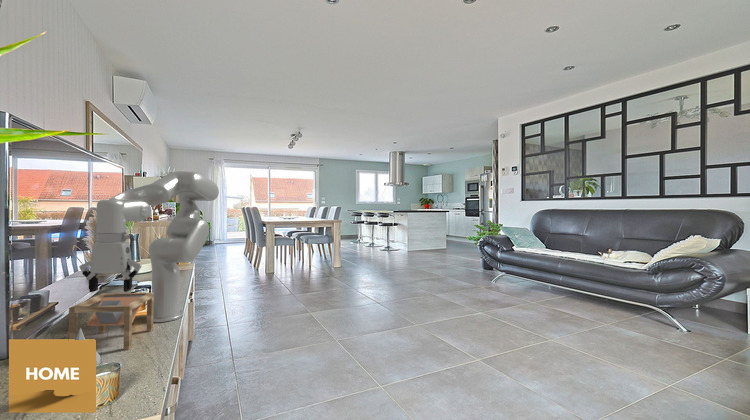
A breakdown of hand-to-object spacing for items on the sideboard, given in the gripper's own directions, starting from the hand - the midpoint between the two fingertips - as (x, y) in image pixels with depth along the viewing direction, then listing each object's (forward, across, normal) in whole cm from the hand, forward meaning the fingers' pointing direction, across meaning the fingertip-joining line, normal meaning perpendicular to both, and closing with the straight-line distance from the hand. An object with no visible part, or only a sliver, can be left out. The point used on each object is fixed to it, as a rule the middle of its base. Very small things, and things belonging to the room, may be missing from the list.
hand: (110, 291), depth 111 cm
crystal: (+17, -7, +26) cm, 32 cm away
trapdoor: (+8, 0, -4) cm, 9 cm away
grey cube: (+9, 0, -1) cm, 9 cm away
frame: (+17, 0, -2) cm, 17 cm away
